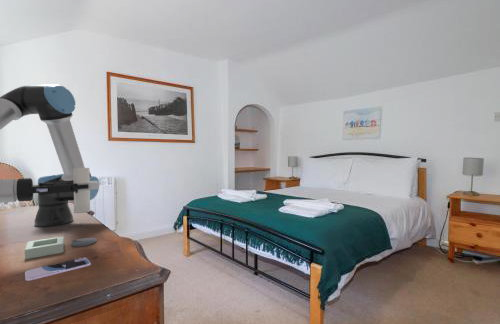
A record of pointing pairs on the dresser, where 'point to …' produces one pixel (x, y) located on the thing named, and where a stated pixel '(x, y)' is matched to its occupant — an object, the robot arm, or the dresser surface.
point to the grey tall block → (82, 196)
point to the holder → (44, 247)
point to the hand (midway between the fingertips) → (97, 184)
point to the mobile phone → (56, 268)
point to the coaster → (83, 242)
